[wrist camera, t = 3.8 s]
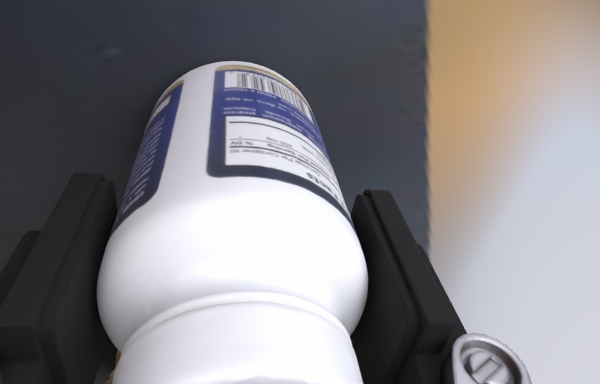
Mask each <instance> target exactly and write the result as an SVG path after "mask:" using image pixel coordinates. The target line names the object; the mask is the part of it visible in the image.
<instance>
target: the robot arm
mask: <svg viewBox="0 0 600 384" xmlns="http://www.w3.org/2000/svg"><path fill="white" fill-rule="evenodd" d="M116 216H117V206H116V197H115V188H114V183H113V182H112V181H105V177H104V175H103V174H89V173H74V174H73V176H72V177H71V179H70V181H69V183H68V184H67V186H66V188H65V190H64V192H63V193H62V195H61V197H60V199H59V201H58V203H57V204H56V206H55V208H54V210H53V212H52V213H51V215H50V217H49V219H48V221H47V223H46V224H45V226H44V228H43V230H42V231H29V232H27V233H26V234H25V235H24V237H23V238H22V239H21V241H20V243H19V244H18V246H17V248H16V249H15V251H14V253H13V254H12V256H11V258H10V259H9V261H8V263H7V264H6V266H5V268H4V270H3V271H2V273H1V275H0V384H94V382H95V378H96V374H97V371H98V367H99V364H100V360H101V356H102V353H103V349H104V346H105V342H106V338H107V333H106V331H105V329H104V327H103V324H102V322H101V319H100V316H99V311H98V305H97V296H96V293H97V280H98V275H99V270H100V267H101V263H102V259H103V255H104V252H105V247H106V244H107V241H108V238H109V236H110V233H111V230H112V227H113V224H114V221H115V218H116ZM350 217H351V220H352V222H353V225H354V228H355V230H356V234H357V237H358V240H359V242H360V245H361V249H362V251H363V254H364V258H365V262H366V267H367V273H368V294H367V300H366V304H365V308H364V311H363V313H362V316H361V318H360V320H359V322H358V324H357V326H356V328H355V330H354V331H353V333H352V334H351V335H350V339H351V342H352V347H353V349H354V351H355V354H356V358H357V362H358V365H359V369H360V373H361V377H362V381H363V384H532V383H531V379H530V376H529V374H528V371H527V369H526V367H525V365H524V363H523V362H522V361H521V360H520V358H519V357H518V356H517V354H516V353H514V352H513V351H512V350H511V349H510V348H509V347H508V346H507V345H505V344H503V343H502V342H500V341H499V340H497V339H495V338H492V337H490V336H487V335H484V334H477V333H470V334H467V332H466V330H465V329H464V327H463V325H462V323H461V321H460V319H459V317H458V315H457V313H456V311H455V309H454V307H453V305H452V303H451V302H450V300H449V298H448V296H447V294H446V292H445V290H444V288H443V286H442V285H441V282H440V280H439V278H438V276H437V275H436V273H435V271H434V269H433V267H432V265H431V263H430V261H429V259H428V257H427V255H426V253H425V251H424V250H423V248H422V247H421V246H420V245H419V244H417V243H416V242H415V240H414V238H413V236H412V234H411V232H410V230H409V228H408V226H407V224H406V222H405V220H404V218H403V216H402V214H401V212H400V210H399V208H398V206H397V204H396V202H395V200H394V198H393V196H392V194H391V193H390V191H387V190H370V189H367V190H365V191H364V193H363V195H357V196H356V199H355V202H354V205H353V209H352V212H351V216H350Z"/></svg>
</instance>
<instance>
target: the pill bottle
mask: <svg viewBox="0 0 600 384" xmlns="http://www.w3.org/2000/svg"><path fill="white" fill-rule="evenodd" d="M367 294H368V273H367V267H366V262H365V258H364V254H363V251H362V249H361V245H360V242H359V240H358V237H357V234H356V230H355V228H354V225H353V222H352V220H351V217H350V214H349V212H348V209H347V207H346V204H345V201H344V199H343V196H342V193H341V190H340V187H339V184H338V181H337V179H336V176H335V173H334V170H333V167H332V165H331V162H330V159H329V156H328V153H327V151H326V148H325V145H324V142H323V139H322V136H321V133H320V131H319V128H318V125H317V123H316V120H315V117H314V115H313V113H312V110H311V108H310V106H309V104H308V103H307V101H306V100H305V98H304V96H303V95H302V94H301V93H300V91H299V90H298V89H297V88H296V87H295V86H294V85H293V84H292V83H291V82H290V81H288V80H287V79H285V78H284V77H283V76H281V75H280V74H278V73H276V72H275V71H273V70H270V69H268V68H266V67H263V66H260V65H257V64H253V63H248V62H241V61H224V62H216V63H211V64H207V65H204V66H201V67H198V68H196V69H194V70H191V71H189V72H188V73H186V74H184V75H183V76H182V77H180V78H179V79H177V80H176V81H175V82H174V83H173V84H172V85H171V86H170V87H169V88H168V89H167V90H166V91H165V92H164V93H163V94H162V96H161V97H160V98H159V100H158V102H157V104H156V105H155V107H154V109H153V111H152V114H151V116H150V118H149V121H148V124H147V127H146V130H145V133H144V136H143V139H142V142H141V145H140V148H139V151H138V154H137V156H136V159H135V162H134V165H133V168H132V171H131V174H130V178H129V180H128V183H127V186H126V189H125V192H124V195H123V198H122V201H121V204H120V207H119V209H118V213H117V216H116V218H115V221H114V224H113V227H112V230H111V233H110V236H109V238H108V241H107V244H106V247H105V252H104V255H103V259H102V263H101V267H100V270H99V275H98V280H97V293H96V296H97V305H98V311H99V316H100V319H101V322H102V324H103V327H104V329H105V331H106V333H107V335H108V337H109V338H110V340H111V341H112V343H113V344H114V346H115V347H116V348H117V349H118V350H119V351H120V352H121V356H120V360H119V362H118V364H117V366H116V369H115V371H114V375H113V380H112V384H363V381H362V377H361V373H360V369H359V365H358V362H357V358H356V354H355V351H354V349H353V347H352V342H351V339H350V335H351V334H352V333H353V331H354V330H355V328H356V326H357V324H358V322H359V320H360V318H361V316H362V313H363V311H364V308H365V304H366V300H367Z"/></svg>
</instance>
